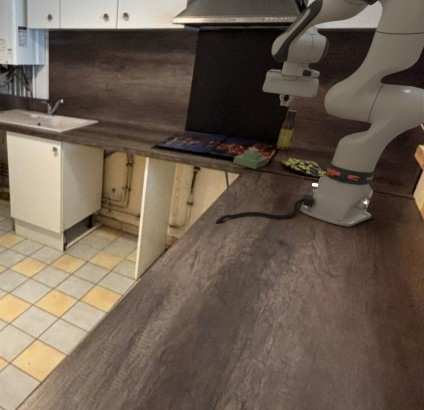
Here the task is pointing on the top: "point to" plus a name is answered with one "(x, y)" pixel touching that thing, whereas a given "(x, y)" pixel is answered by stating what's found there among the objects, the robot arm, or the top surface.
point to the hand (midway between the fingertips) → (284, 106)
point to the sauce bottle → (287, 131)
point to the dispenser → (251, 160)
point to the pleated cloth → (304, 167)
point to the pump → (253, 151)
